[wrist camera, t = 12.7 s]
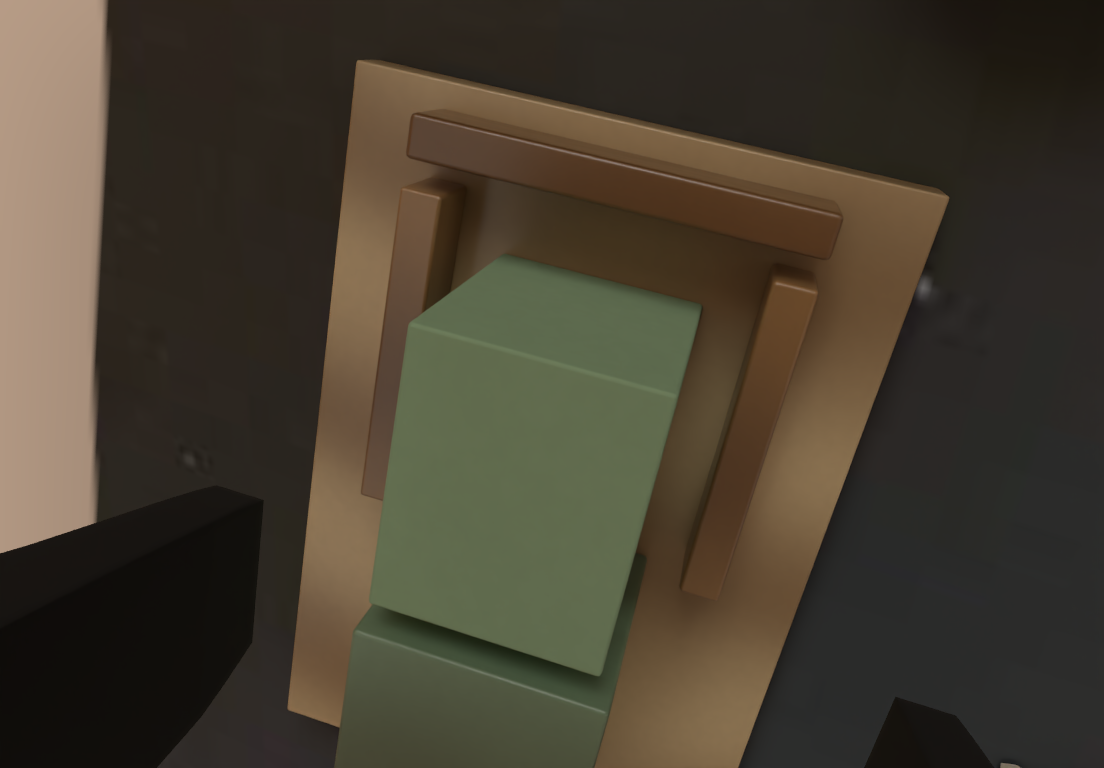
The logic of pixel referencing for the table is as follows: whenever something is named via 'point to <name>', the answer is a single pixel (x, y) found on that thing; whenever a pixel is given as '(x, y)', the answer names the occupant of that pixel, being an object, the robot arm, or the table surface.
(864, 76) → the table surface
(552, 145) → the wooden block tray
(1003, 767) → the granola bar
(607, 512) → the green block
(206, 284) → the table surface
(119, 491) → the table surface
